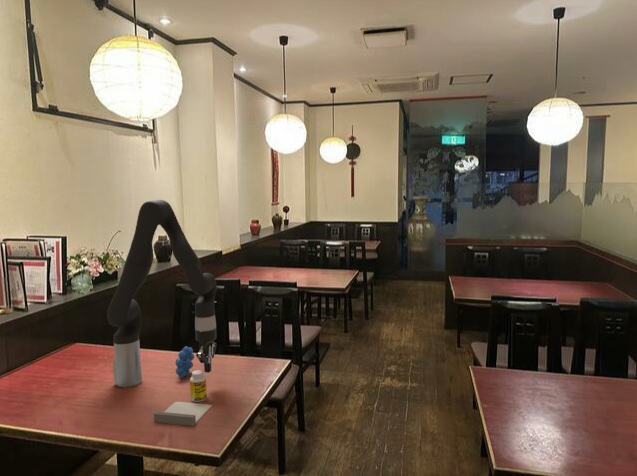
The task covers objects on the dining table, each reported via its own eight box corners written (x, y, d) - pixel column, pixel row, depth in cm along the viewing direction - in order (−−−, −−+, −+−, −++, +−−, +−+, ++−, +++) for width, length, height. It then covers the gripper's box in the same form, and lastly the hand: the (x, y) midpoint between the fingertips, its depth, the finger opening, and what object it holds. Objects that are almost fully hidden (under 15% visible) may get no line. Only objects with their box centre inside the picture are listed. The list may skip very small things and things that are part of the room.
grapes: (184, 369, 190) (183, 341, 188) (198, 370, 188) (197, 343, 187) (168, 380, 179) (166, 351, 177) (183, 382, 177) (181, 353, 175)
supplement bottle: (193, 404, 159) (192, 376, 157) (188, 398, 163) (187, 371, 162) (209, 400, 162) (207, 372, 160) (203, 394, 166) (202, 367, 165)
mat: (154, 421, 147) (153, 413, 147) (175, 402, 160) (175, 395, 160) (193, 425, 144) (192, 417, 144) (211, 406, 157) (211, 398, 157)
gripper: (204, 321, 175) (206, 364, 176) (187, 332, 162) (190, 378, 164) (222, 322, 173) (224, 365, 175) (207, 333, 160) (209, 379, 162)
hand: (207, 371), depth 169 cm, fingers closed
